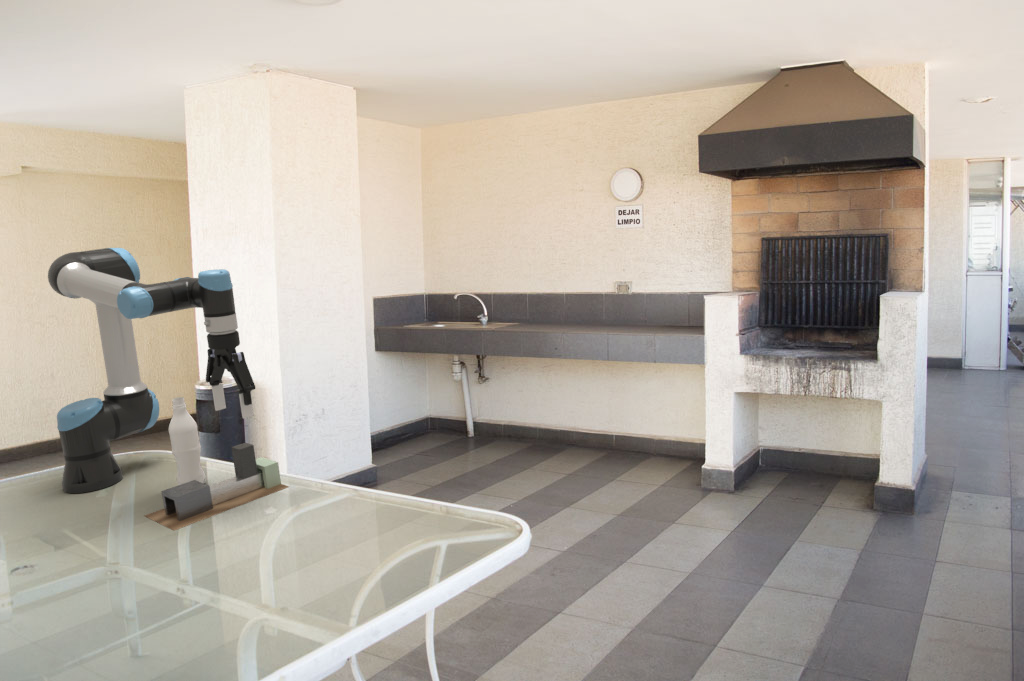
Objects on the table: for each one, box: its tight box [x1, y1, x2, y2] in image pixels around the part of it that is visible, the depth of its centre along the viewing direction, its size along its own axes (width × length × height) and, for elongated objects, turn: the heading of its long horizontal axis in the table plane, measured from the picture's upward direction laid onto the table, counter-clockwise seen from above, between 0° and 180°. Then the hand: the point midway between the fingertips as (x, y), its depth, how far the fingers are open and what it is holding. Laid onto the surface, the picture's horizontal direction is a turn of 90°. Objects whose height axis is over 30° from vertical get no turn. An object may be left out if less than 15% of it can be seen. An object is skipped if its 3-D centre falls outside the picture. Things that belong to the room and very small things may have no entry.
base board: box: [143, 483, 290, 531], centre depth 203 cm, size 16×31×1 cm, turn 138°
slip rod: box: [209, 442, 264, 505], centre depth 205 cm, size 4×21×12 cm, turn 138°
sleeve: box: [161, 480, 213, 521], centre depth 196 cm, size 8×8×6 cm
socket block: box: [255, 456, 282, 489], centre depth 212 cm, size 8×4×6 cm, turn 48°
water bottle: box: [168, 396, 206, 486], centre depth 214 cm, size 7×7×25 cm
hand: (234, 413), depth 205 cm, fingers open, 13 cm apart
